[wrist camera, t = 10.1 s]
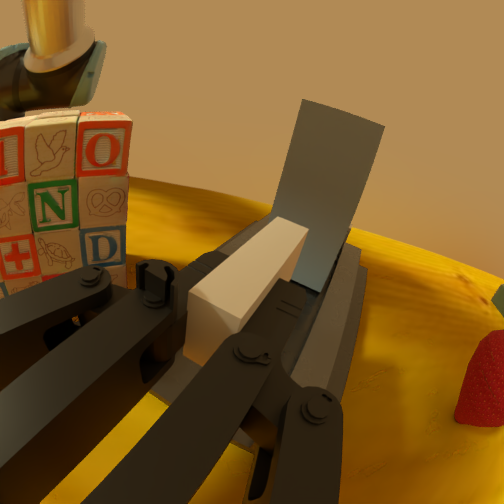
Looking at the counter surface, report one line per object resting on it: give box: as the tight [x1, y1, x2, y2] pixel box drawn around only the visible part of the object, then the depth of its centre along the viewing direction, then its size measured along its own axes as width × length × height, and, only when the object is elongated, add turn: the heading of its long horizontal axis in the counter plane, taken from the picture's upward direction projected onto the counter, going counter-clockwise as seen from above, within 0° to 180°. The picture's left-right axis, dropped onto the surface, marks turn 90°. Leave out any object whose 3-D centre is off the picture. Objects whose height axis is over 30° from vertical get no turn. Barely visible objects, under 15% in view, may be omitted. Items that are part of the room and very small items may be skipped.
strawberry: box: [454, 330, 504, 427], centre depth 10 cm, size 6×8×10 cm
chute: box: [148, 213, 368, 454], centre depth 20 cm, size 14×23×5 cm, turn 154°
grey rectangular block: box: [268, 99, 385, 292], centre depth 21 cm, size 6×5×14 cm
